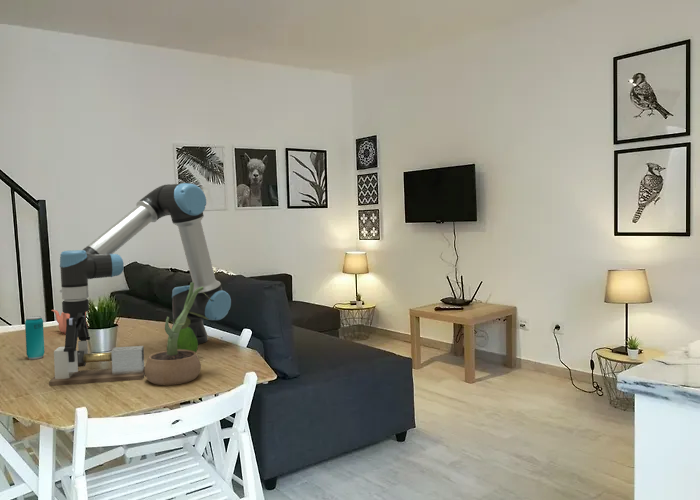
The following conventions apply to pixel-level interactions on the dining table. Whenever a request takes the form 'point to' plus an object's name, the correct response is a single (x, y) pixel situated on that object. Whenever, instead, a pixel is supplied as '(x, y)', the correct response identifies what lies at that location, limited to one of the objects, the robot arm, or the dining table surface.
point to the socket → (61, 364)
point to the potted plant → (175, 352)
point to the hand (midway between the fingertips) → (78, 366)
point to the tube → (92, 357)
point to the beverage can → (34, 337)
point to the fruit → (187, 340)
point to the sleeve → (127, 360)
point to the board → (96, 377)
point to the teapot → (62, 320)
